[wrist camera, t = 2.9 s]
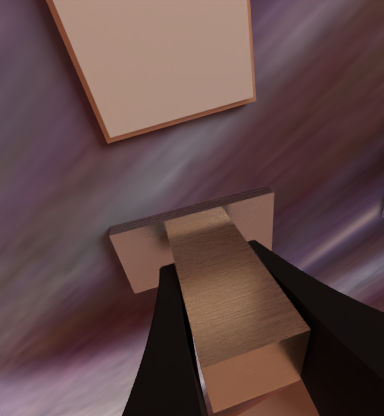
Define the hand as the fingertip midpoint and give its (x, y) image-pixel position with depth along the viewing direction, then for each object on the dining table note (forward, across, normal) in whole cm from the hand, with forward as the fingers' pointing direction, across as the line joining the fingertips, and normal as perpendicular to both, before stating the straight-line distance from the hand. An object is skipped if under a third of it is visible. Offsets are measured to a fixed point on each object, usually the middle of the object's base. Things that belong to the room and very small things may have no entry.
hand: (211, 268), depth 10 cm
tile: (+3, 0, -9) cm, 9 cm away
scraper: (+2, 0, 0) cm, 2 cm away
